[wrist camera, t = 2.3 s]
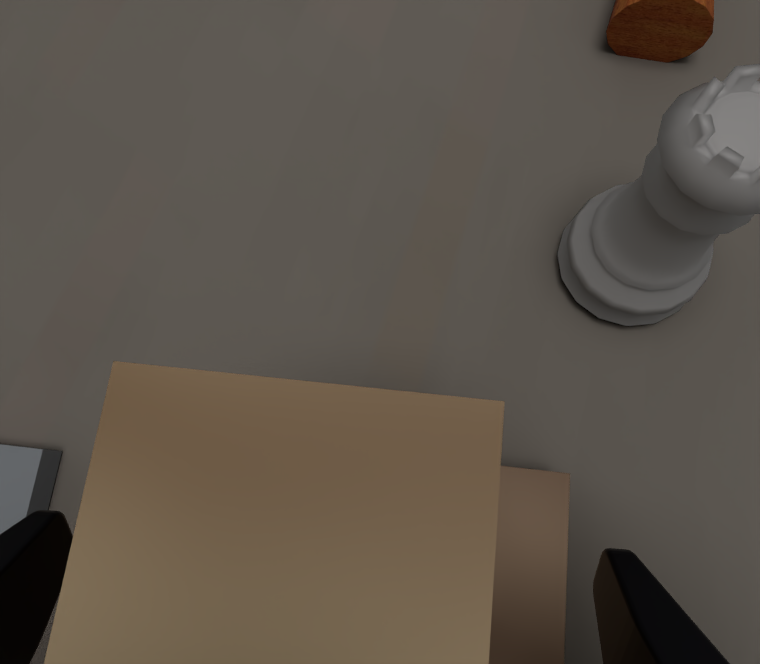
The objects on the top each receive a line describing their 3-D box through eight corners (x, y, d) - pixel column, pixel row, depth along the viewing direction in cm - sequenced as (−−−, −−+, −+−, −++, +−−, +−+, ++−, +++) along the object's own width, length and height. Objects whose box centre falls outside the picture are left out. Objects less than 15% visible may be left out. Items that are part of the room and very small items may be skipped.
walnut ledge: (537, 865, 15) (555, 921, 13) (135, 797, 16) (97, 841, 14) (553, 474, 18) (570, 473, 16) (202, 434, 19) (178, 429, 17)
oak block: (435, 627, 15) (474, 894, 5) (265, 604, 15) (10, 811, 6) (450, 450, 16) (503, 401, 6) (290, 432, 16) (113, 361, 7)
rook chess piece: (525, 256, 19) (598, 107, 12) (624, 179, 20) (756, -13, 12) (620, 357, 18) (769, 267, 11) (721, 274, 19) (933, 129, 11)
